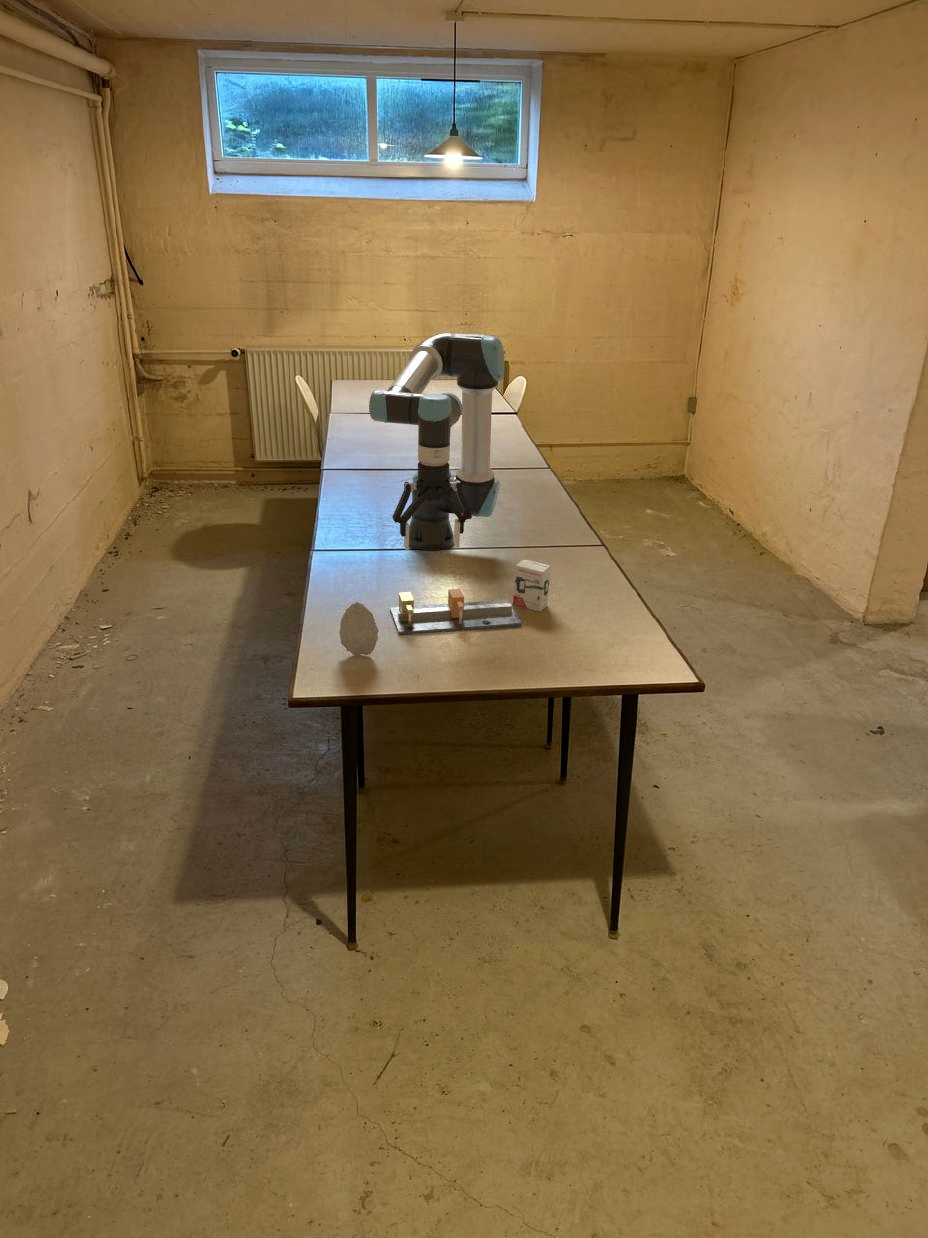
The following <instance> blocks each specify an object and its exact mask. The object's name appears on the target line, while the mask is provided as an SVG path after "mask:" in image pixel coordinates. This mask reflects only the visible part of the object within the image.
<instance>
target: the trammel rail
mask: <svg viewBox="0 0 928 1238" xmlns="http://www.w3.org/2000/svg"><path fill="white" fill-rule="evenodd" d="M414 606H415V599H414V597H413V595H412V592H411V591H402V592H398V607H399V610H398V619H399V621H402V622H404V621H409V625H408V627H409V628H410V627H411V621H413V620H419V619H433V618H447V617H451V608H450V607H441V608H426V609H414ZM512 608H513V604H511V602H509V603H499V604H485V605H470V606H464V611H463V616H475V615H489V614H503V613H512Z"/></svg>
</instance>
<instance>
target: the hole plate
mask: <svg viewBox="0 0 928 1238" xmlns="http://www.w3.org/2000/svg"><path fill="white" fill-rule="evenodd" d="M499 603H510V602H509V600H508V599H497V600H484V601H469V602H468V601H467V602H466V601H465V602H464V606H470V605H485V604H499ZM441 607H448V603H441V604H438V603H436V604H426V605H425V604H424V605H414V609H426V608H441ZM389 610H390V614H391V617H392V619H393V621H394V625H395V628H396V630H397V633H398V636H410V635H411V636H412V635H421V634H422V635H424V634H437V633H438V634H439V633H450V632H461V631H462V632H463V631H475V630H476V631H477V630H490V629H504V628H517V627H522V625H523V622H522V621H521V619H520V618H519V616H518V614H517V613H516V611H515V610H514V609H513V607H512V613H503V614H489V615H475V616H463V617H462V624H459V618H451V617H447V618H433V619H419V620H413V621H411V627H410V628H409V627H408V625H409V621H404V622H402V621H399V619H398V610H399V606H395V607H389Z"/></svg>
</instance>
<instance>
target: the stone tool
mask: <svg viewBox="0 0 928 1238" xmlns="http://www.w3.org/2000/svg"><path fill="white" fill-rule="evenodd" d="M374 617H375V616H374V615H373V613H372V612H371V610H369V609H368V608H367V607H366V606H365V604H363V603H361V602H359V601H355V602H354V603H351V604H350V606H348V607H347V608H346V609H345V612H343V615H342V618H341V620H340V624H339V625H340V628H339V632H338V633H339V638H340V644H341V646H343V647H344V648H345V649H346V651H347V652H349V653H351V654H352V656H360V655H363V656H369V655H371V654H373V653H372V652H374V650H375V649H376V645H377V642H378V640H379V639H378V638H379V636H378V634H379V629H378V626H377V623H376V620H375V618H374Z"/></svg>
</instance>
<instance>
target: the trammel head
mask: <svg viewBox="0 0 928 1238" xmlns="http://www.w3.org/2000/svg"><path fill="white" fill-rule="evenodd" d="M447 592H448V595H447V596H448V597H447V604H448V607H450V608H451V618H459V624H462V617H463V611H464V603H465V596H464V594H463V593H462V591H461V588H452V589H448V591H447Z"/></svg>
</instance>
